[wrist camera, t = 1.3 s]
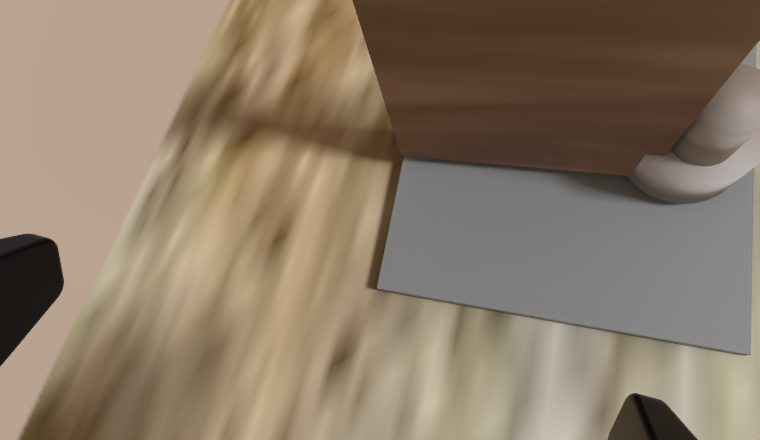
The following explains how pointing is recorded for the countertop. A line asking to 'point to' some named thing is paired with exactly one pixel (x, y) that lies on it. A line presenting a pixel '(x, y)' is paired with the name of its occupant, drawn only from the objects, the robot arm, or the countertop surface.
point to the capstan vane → (575, 86)
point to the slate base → (575, 250)
